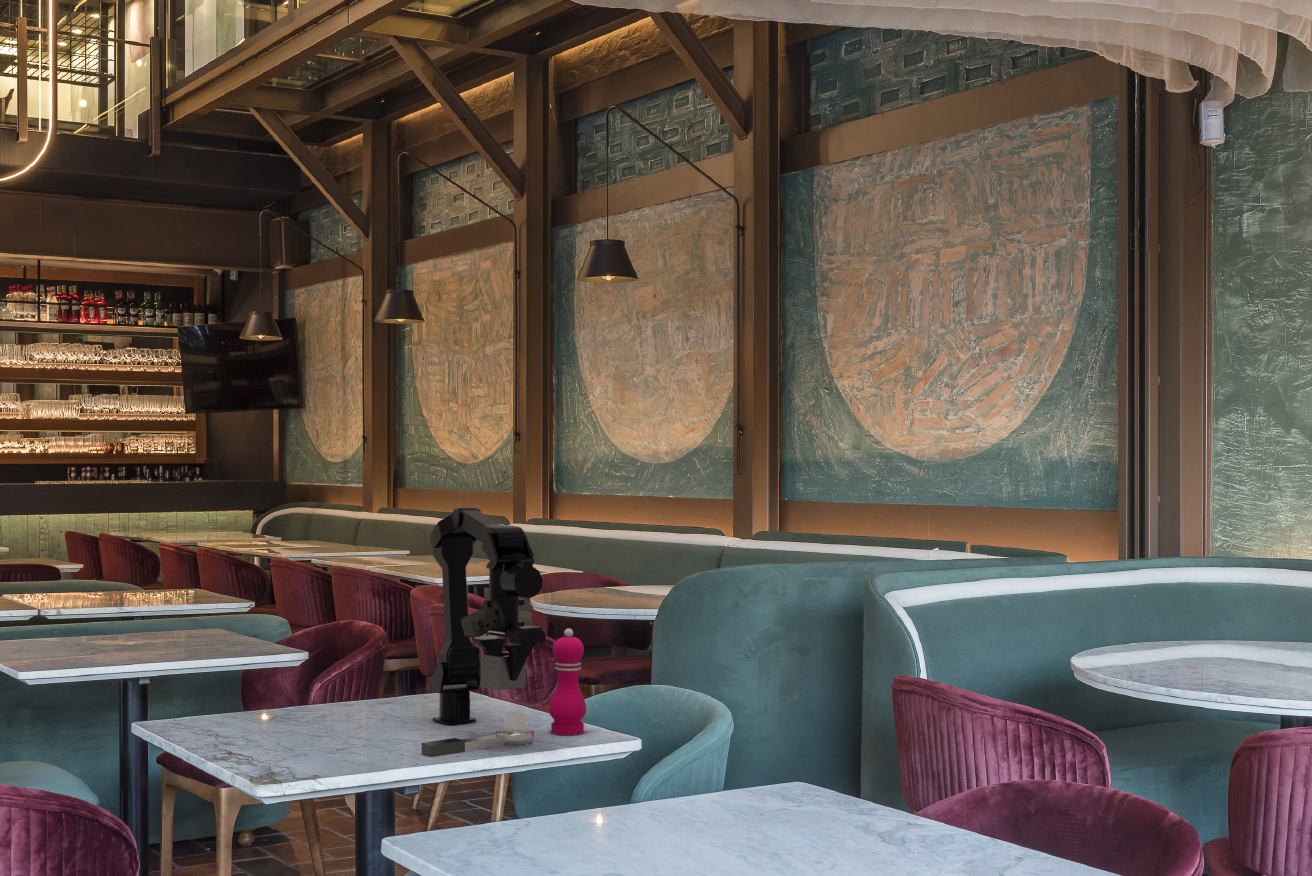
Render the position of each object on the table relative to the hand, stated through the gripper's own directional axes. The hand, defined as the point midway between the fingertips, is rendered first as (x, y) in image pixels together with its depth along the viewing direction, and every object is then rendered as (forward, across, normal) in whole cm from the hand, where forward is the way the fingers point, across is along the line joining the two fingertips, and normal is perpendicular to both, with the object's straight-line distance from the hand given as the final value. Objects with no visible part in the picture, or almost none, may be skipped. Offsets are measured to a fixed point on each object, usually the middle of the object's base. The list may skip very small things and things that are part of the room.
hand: (503, 678), depth 237 cm
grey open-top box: (+2, 0, 0) cm, 2 cm away
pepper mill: (+12, 0, +15) cm, 19 cm away
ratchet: (+12, +1, -6) cm, 13 cm away
